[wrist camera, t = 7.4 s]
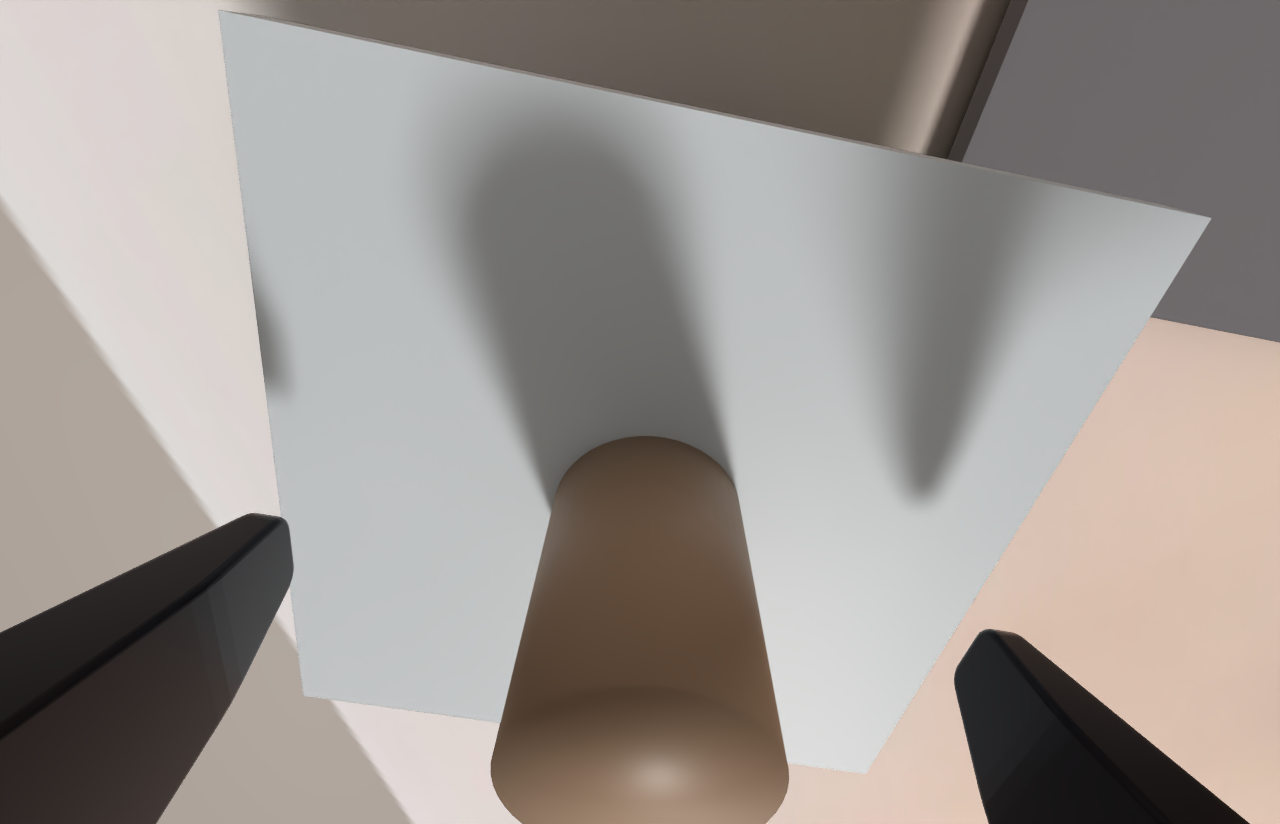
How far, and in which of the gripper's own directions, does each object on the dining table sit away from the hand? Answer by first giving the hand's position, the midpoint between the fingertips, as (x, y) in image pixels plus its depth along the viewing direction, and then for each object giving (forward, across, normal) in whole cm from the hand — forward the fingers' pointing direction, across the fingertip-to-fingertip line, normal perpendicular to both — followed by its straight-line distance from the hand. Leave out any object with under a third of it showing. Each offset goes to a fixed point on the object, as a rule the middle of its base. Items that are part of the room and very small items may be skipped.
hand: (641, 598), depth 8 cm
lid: (+2, 0, 0) cm, 2 cm away
